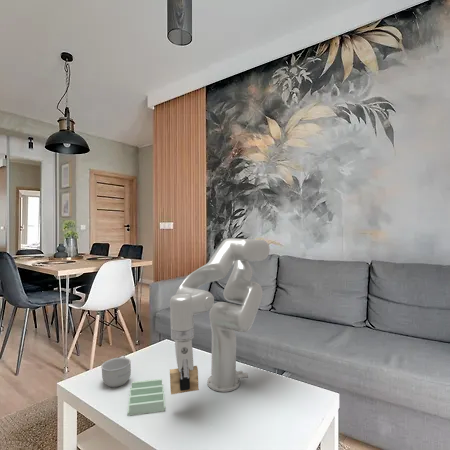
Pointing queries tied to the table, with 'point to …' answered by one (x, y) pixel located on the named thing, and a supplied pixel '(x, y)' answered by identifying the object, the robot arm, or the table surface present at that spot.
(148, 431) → the table surface
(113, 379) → the teacup
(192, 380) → the oak board
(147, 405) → the dish rack
